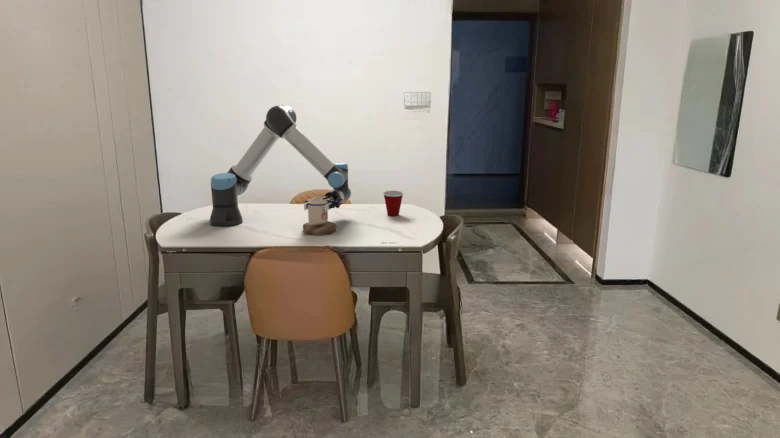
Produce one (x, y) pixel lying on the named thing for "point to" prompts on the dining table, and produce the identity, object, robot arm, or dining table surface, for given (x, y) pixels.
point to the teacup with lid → (317, 210)
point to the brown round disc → (319, 228)
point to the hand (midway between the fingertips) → (315, 207)
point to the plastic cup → (393, 202)
